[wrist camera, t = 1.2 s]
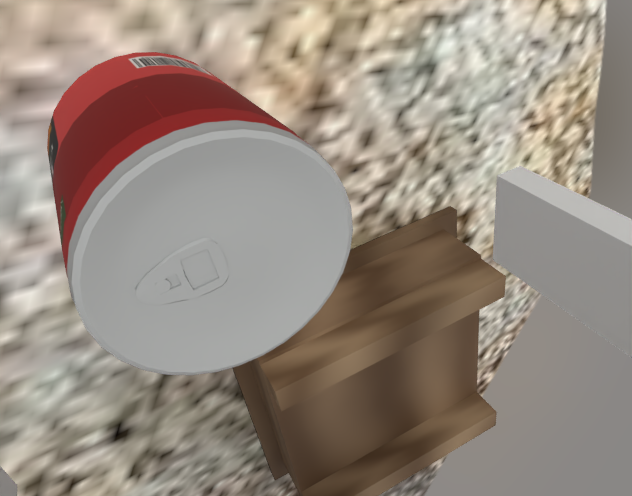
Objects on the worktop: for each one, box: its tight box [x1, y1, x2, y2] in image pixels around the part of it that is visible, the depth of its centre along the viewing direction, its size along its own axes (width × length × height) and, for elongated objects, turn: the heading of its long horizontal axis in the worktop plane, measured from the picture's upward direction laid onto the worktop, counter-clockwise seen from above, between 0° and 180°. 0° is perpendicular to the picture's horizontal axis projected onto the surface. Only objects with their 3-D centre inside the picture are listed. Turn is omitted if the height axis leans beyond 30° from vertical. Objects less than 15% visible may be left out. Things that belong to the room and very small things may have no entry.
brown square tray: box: [232, 206, 506, 496], centre depth 33 cm, size 16×16×6 cm
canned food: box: [47, 52, 353, 375], centre depth 19 cm, size 8×8×11 cm
